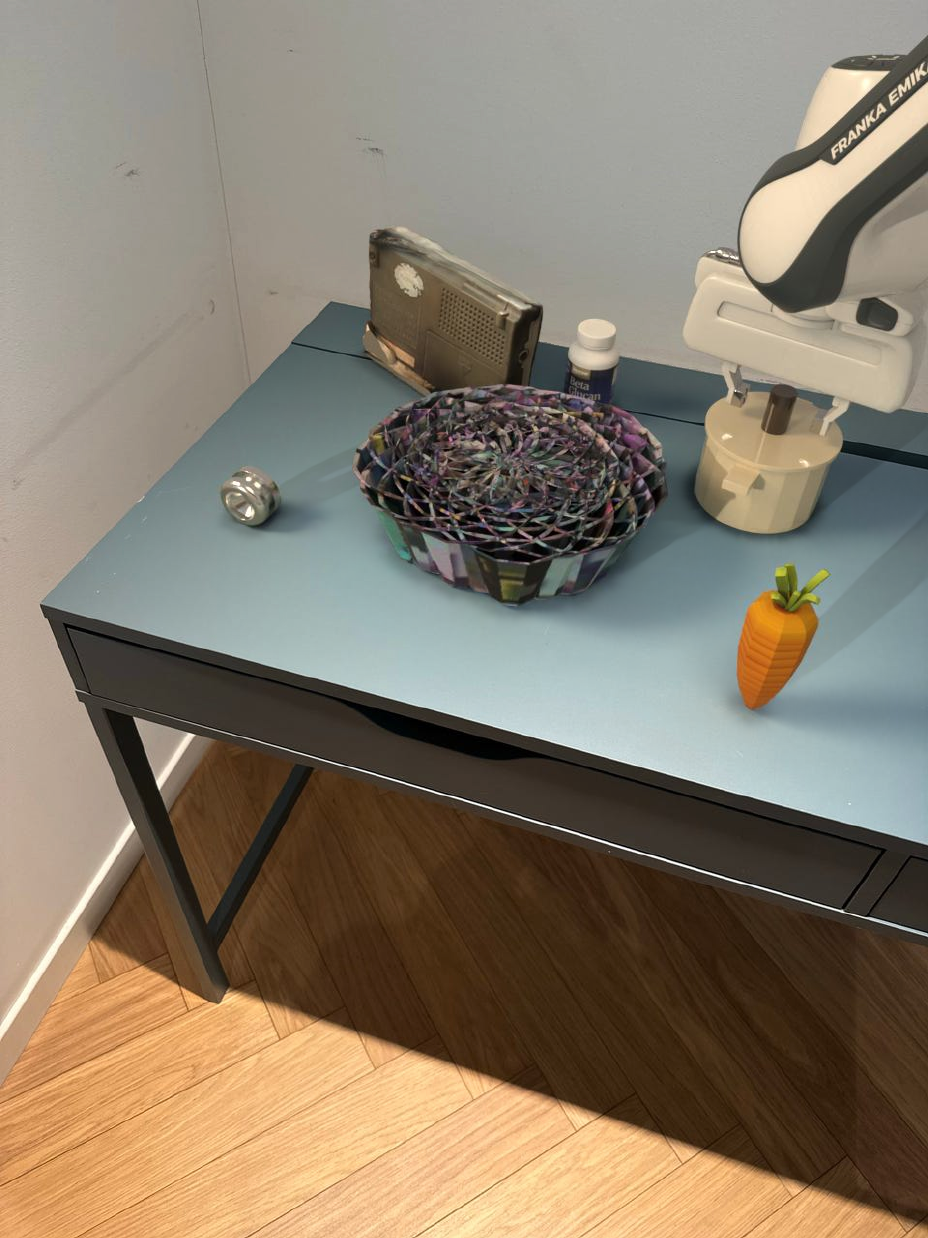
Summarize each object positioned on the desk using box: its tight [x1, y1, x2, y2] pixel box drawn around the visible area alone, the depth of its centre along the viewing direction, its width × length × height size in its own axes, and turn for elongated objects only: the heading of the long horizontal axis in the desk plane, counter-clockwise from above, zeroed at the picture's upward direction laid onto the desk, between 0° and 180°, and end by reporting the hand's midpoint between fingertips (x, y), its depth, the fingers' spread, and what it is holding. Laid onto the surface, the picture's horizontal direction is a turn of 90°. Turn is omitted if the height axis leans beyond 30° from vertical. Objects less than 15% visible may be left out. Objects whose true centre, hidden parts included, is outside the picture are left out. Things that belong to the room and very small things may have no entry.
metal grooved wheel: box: [219, 465, 282, 526], centre depth 89 cm, size 5×3×5 cm, turn 64°
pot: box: [694, 397, 832, 535], centre depth 93 cm, size 12×17×8 cm
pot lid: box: [704, 383, 844, 473], centre depth 89 cm, size 13×13×5 cm
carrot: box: [736, 562, 832, 710], centre depth 71 cm, size 5×5×15 cm
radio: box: [362, 225, 544, 397], centre depth 103 cm, size 23×9×15 cm, turn 38°
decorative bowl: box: [351, 384, 669, 607], centre depth 87 cm, size 26×28×10 cm
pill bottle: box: [562, 318, 620, 406], centre depth 102 cm, size 5×5×10 cm
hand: (776, 417), depth 89 cm, fingers open, 7 cm apart
